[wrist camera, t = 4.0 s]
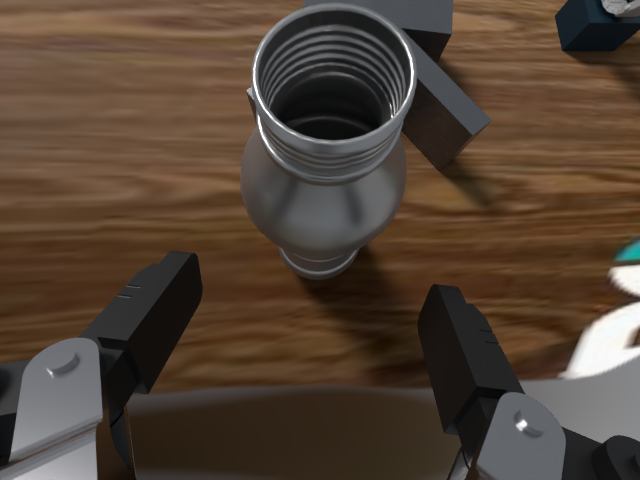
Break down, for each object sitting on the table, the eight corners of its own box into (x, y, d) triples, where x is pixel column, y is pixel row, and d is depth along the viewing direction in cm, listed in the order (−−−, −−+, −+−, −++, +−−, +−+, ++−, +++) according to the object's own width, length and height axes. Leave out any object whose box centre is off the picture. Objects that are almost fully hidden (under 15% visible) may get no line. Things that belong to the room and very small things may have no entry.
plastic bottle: (371, 244, 26) (548, 72, 7) (315, 298, 25) (328, 289, 5) (320, 193, 27) (342, -93, 7) (264, 244, 26) (114, 66, 6)
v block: (257, 148, 28) (242, 107, 22) (279, 27, 30) (271, -39, 25) (453, 172, 28) (491, 137, 22) (457, 48, 30) (491, -12, 25)
